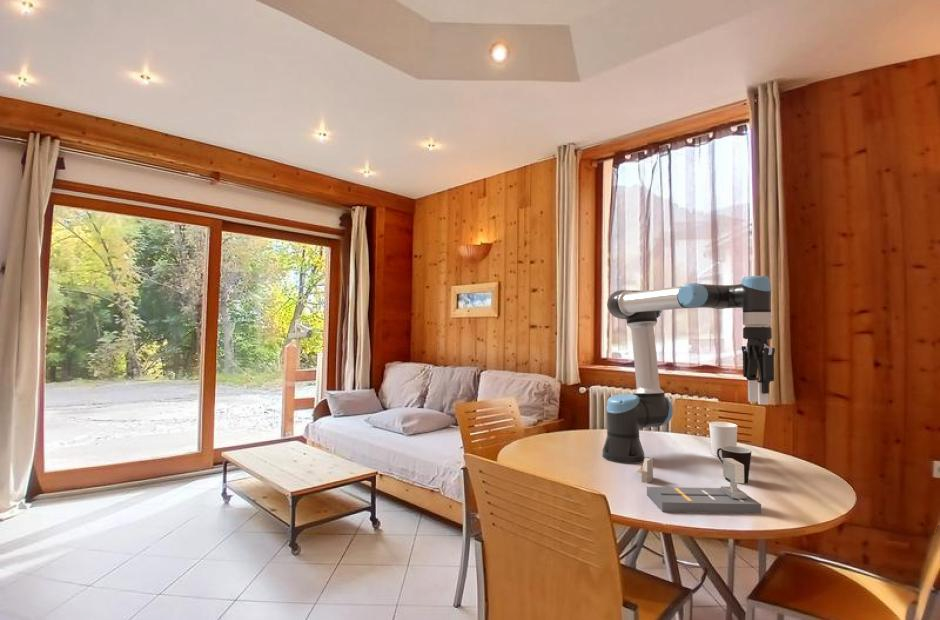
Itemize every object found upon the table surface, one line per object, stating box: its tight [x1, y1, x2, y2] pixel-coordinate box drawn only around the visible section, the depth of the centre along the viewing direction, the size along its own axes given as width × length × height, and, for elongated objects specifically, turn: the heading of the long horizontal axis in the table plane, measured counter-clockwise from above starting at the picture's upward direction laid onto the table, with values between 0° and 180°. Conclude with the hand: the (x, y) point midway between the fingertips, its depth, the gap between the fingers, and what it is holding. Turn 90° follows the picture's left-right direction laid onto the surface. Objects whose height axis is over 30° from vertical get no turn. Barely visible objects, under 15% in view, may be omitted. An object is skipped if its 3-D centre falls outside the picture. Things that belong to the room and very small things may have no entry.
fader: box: [720, 458, 748, 499], centre depth 129 cm, size 4×6×9 cm, turn 178°
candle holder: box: [708, 421, 739, 459], centre depth 179 cm, size 10×10×12 cm
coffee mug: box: [717, 446, 753, 485], centre depth 151 cm, size 12×9×10 cm
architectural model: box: [636, 456, 654, 484], centre depth 150 cm, size 3×7×7 cm, turn 142°
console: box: [646, 486, 762, 515], centre depth 129 cm, size 26×12×3 cm, turn 88°
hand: (758, 402), depth 140 cm, fingers open, 4 cm apart
